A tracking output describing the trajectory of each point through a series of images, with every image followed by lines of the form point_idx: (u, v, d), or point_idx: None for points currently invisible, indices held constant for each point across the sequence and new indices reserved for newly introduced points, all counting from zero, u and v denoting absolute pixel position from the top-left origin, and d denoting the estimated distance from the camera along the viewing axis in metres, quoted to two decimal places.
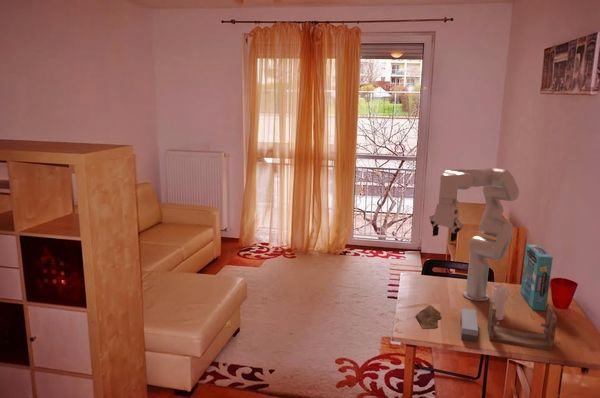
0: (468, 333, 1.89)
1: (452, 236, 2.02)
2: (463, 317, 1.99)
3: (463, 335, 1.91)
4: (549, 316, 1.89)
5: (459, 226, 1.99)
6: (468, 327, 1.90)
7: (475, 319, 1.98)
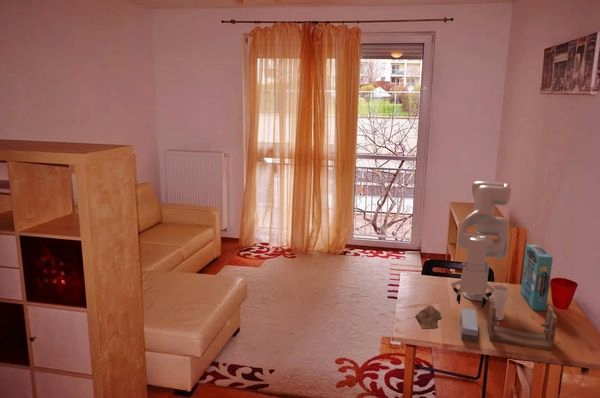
0: (468, 333, 1.89)
1: None
2: (463, 317, 1.99)
3: (463, 335, 1.91)
4: (549, 316, 1.89)
5: None
6: (468, 327, 1.90)
7: (475, 319, 1.98)
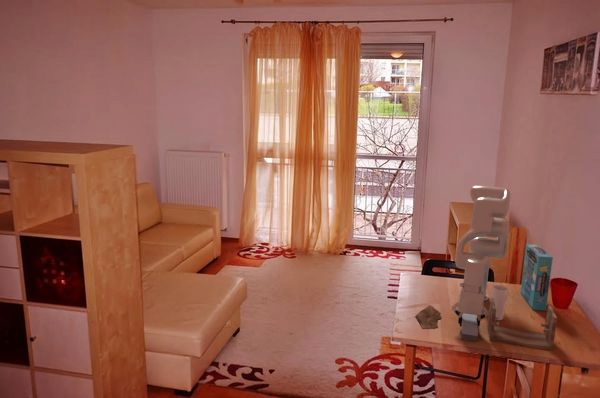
0: (468, 333, 1.89)
1: None
2: (463, 317, 1.99)
3: (463, 335, 1.91)
4: (549, 316, 1.89)
5: None
6: (468, 327, 1.90)
7: (475, 319, 1.98)
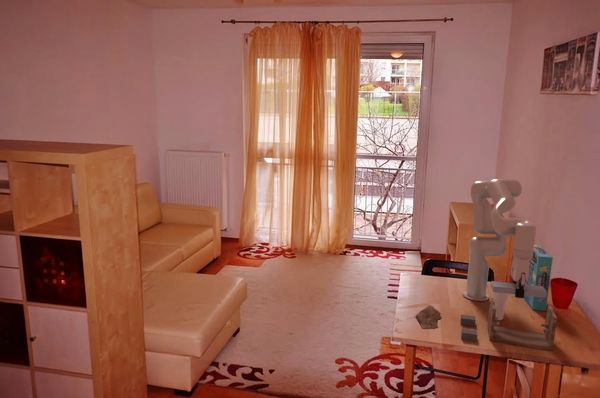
0: (491, 287, 1.93)
1: None
2: None
3: (463, 335, 1.91)
4: (549, 316, 1.89)
5: None
6: (495, 283, 1.92)
7: None
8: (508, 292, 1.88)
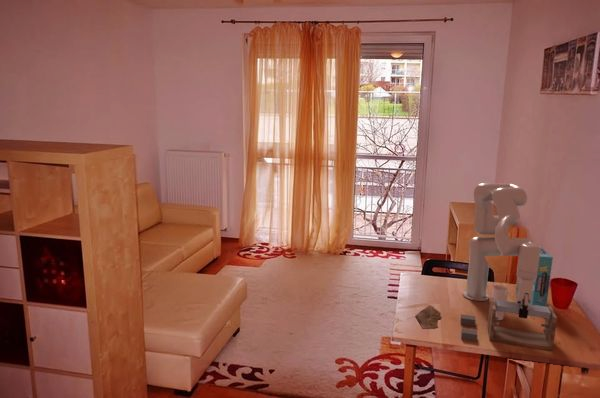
0: None
1: None
2: None
3: (463, 335, 1.91)
4: None
5: None
6: (500, 302, 1.93)
7: None
8: (512, 312, 1.89)
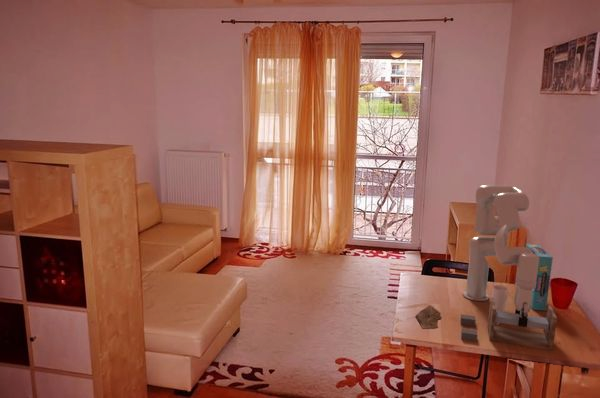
0: None
1: None
2: None
3: (463, 335, 1.91)
4: (549, 316, 1.89)
5: None
6: (498, 313, 1.95)
7: None
8: (510, 323, 1.90)
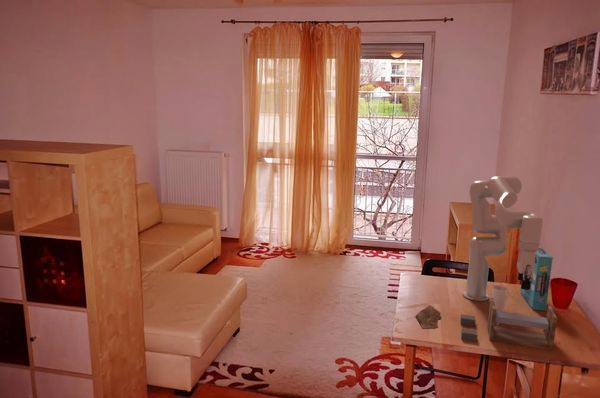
0: None
1: None
2: (521, 314, 1.94)
3: (463, 335, 1.91)
4: (549, 316, 1.89)
5: None
6: (498, 313, 1.95)
7: (522, 319, 1.89)
8: (510, 323, 1.90)
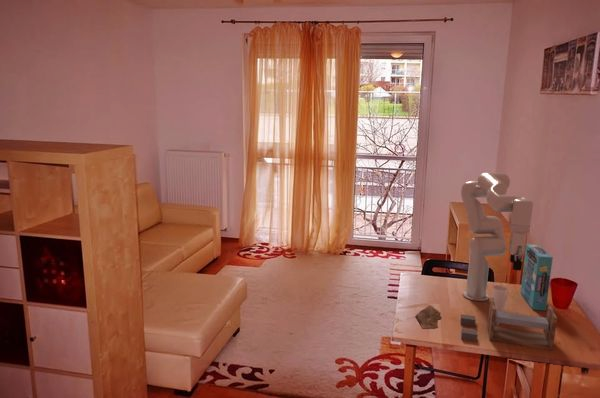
0: None
1: None
2: (521, 314, 1.94)
3: (463, 335, 1.91)
4: (549, 316, 1.89)
5: None
6: (498, 313, 1.95)
7: (522, 319, 1.89)
8: (510, 323, 1.90)
